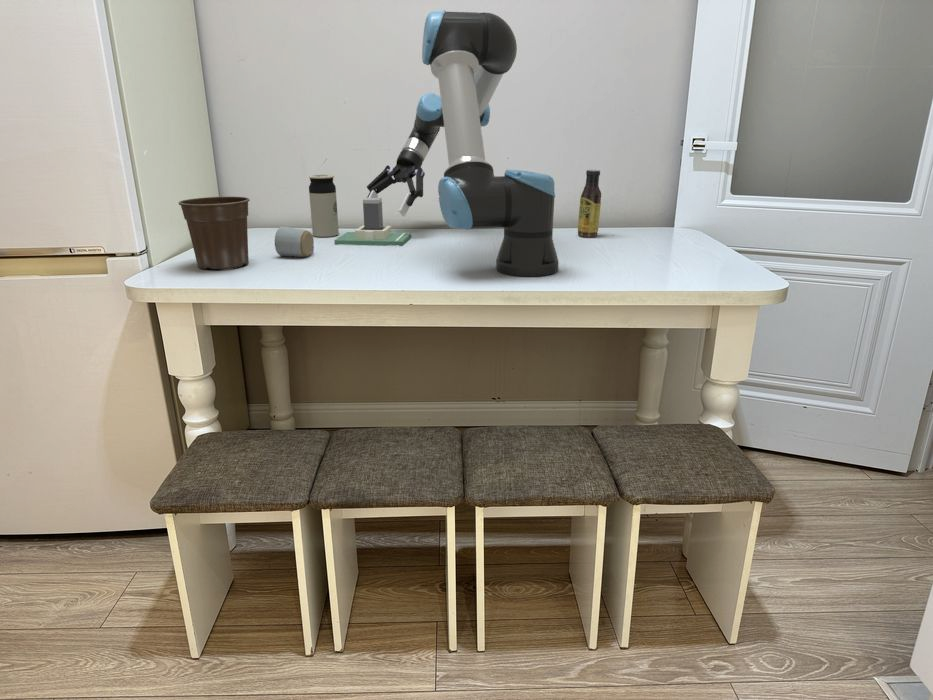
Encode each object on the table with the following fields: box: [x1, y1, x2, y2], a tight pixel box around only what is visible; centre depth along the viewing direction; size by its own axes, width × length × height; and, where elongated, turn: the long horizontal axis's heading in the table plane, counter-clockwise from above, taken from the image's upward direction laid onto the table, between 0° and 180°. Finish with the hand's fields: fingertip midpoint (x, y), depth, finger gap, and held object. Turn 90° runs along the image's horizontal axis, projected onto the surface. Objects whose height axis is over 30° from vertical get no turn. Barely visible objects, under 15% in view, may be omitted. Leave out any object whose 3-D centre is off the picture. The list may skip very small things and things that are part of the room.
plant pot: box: [178, 196, 251, 270], centre depth 159 cm, size 16×16×16 cm
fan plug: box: [362, 197, 384, 230], centre depth 191 cm, size 4×4×11 cm
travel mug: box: [308, 174, 340, 238], centre depth 198 cm, size 8×8×18 cm
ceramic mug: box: [274, 226, 315, 258], centre depth 172 cm, size 11×8×8 cm
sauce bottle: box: [577, 168, 602, 238], centre depth 196 cm, size 7×6×20 cm
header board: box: [333, 224, 412, 247], centre depth 192 cm, size 14×20×4 cm
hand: (383, 211), depth 195 cm, fingers open, 13 cm apart
